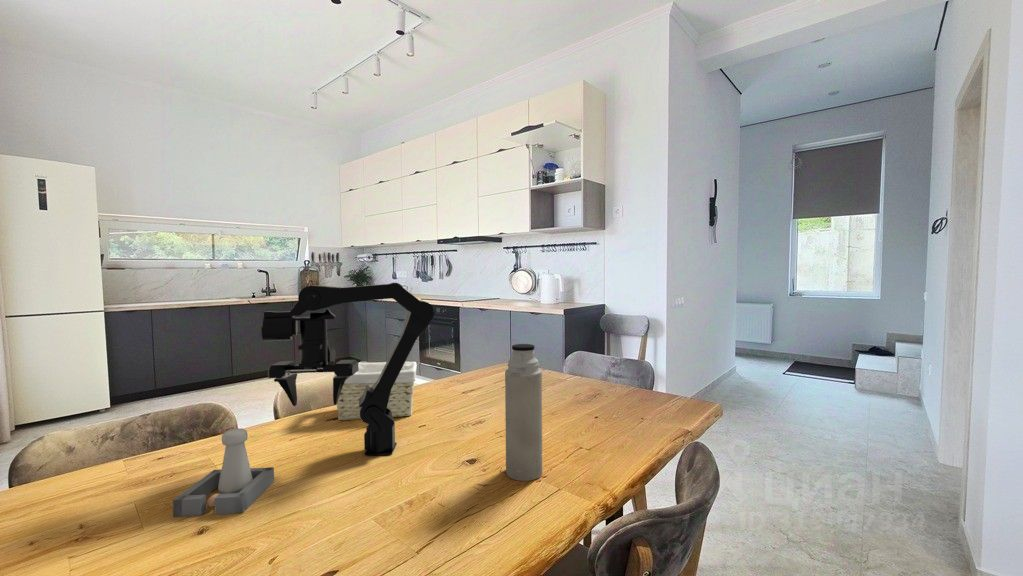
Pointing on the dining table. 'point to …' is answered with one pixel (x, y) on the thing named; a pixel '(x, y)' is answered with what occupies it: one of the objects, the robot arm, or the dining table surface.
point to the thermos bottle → (523, 414)
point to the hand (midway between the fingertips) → (315, 405)
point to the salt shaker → (234, 462)
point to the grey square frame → (224, 503)
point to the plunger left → (212, 500)
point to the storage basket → (369, 375)
